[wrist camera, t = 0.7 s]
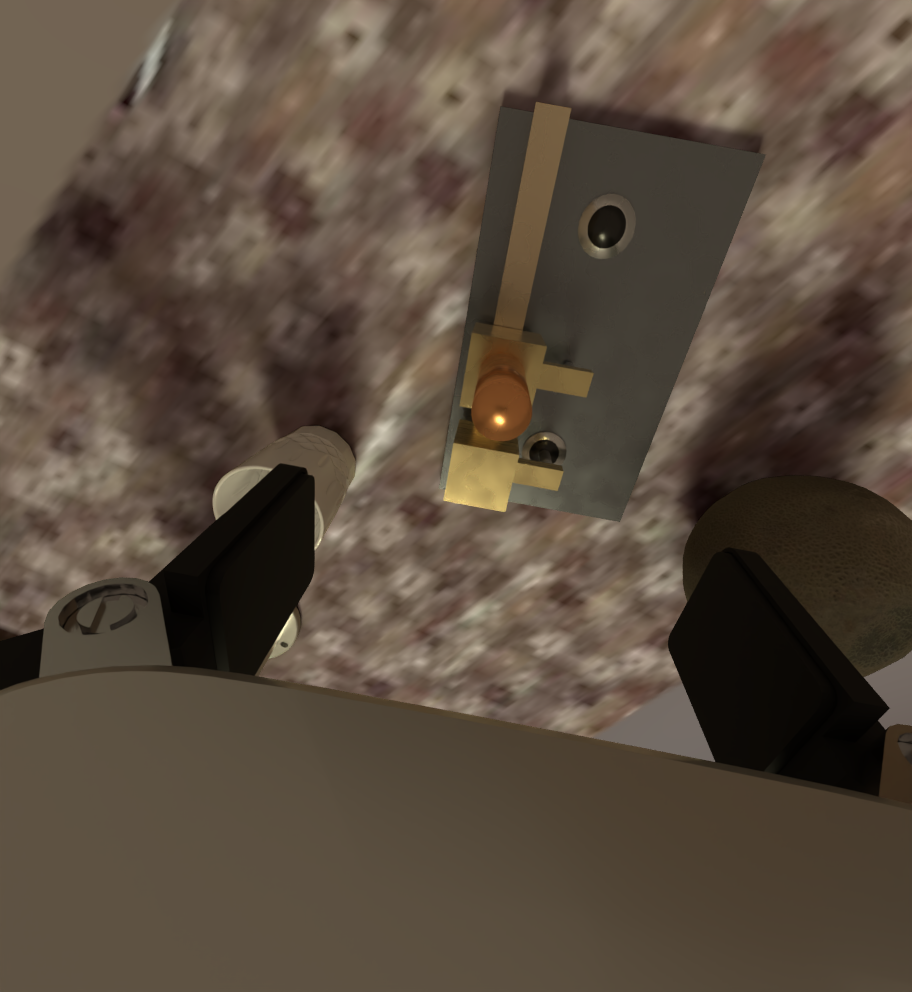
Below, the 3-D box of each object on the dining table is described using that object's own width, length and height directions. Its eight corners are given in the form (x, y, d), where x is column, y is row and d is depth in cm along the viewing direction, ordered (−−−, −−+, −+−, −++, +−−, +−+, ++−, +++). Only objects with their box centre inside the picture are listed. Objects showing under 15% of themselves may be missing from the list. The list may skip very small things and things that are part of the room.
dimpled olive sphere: (854, 533, 38) (1039, 676, 25) (695, 604, 43) (780, 755, 30) (792, 406, 34) (977, 498, 21) (623, 501, 39) (685, 624, 26)
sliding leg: (570, 399, 34) (610, 477, 22) (466, 380, 34) (447, 447, 22) (588, 339, 32) (642, 388, 19) (477, 319, 32) (462, 355, 19)
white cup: (328, 402, 37) (274, 446, 28) (379, 478, 40) (345, 539, 31) (258, 442, 39) (188, 495, 31) (312, 511, 42) (262, 577, 34)
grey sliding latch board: (617, 515, 40) (642, 571, 33) (440, 483, 40) (427, 531, 33) (757, 158, 27) (846, 122, 20) (500, 111, 27) (500, 59, 20)
